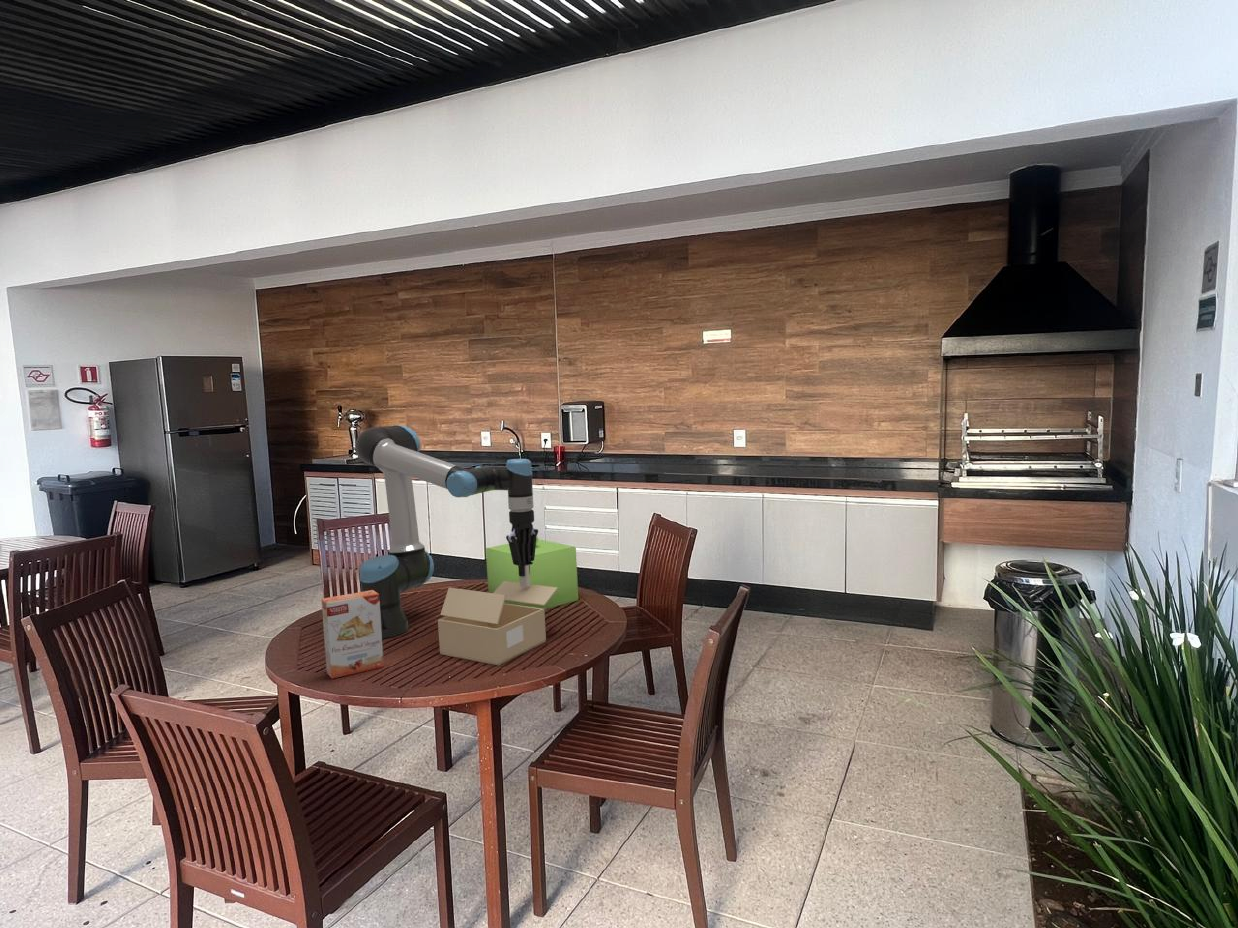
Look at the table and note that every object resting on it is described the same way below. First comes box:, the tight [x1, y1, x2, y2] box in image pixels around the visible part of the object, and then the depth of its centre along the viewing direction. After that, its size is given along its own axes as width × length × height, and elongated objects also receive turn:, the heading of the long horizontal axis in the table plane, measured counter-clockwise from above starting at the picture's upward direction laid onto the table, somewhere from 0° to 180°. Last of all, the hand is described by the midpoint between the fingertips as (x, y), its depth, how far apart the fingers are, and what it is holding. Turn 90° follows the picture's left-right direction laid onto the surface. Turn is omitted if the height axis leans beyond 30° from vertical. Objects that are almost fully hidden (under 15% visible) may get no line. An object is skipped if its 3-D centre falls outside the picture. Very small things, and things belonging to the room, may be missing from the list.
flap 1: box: [440, 587, 506, 624], centre depth 206 cm, size 21×1×8 cm
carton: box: [437, 603, 547, 667], centre depth 213 cm, size 22×21×10 cm
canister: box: [485, 536, 579, 610], centre depth 262 cm, size 25×21×23 cm
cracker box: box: [321, 590, 384, 680], centre depth 199 cm, size 14×6×21 cm, turn 124°
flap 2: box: [494, 581, 558, 606], centre depth 225 cm, size 21×1×8 cm
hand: (525, 585), depth 226 cm, fingers closed
